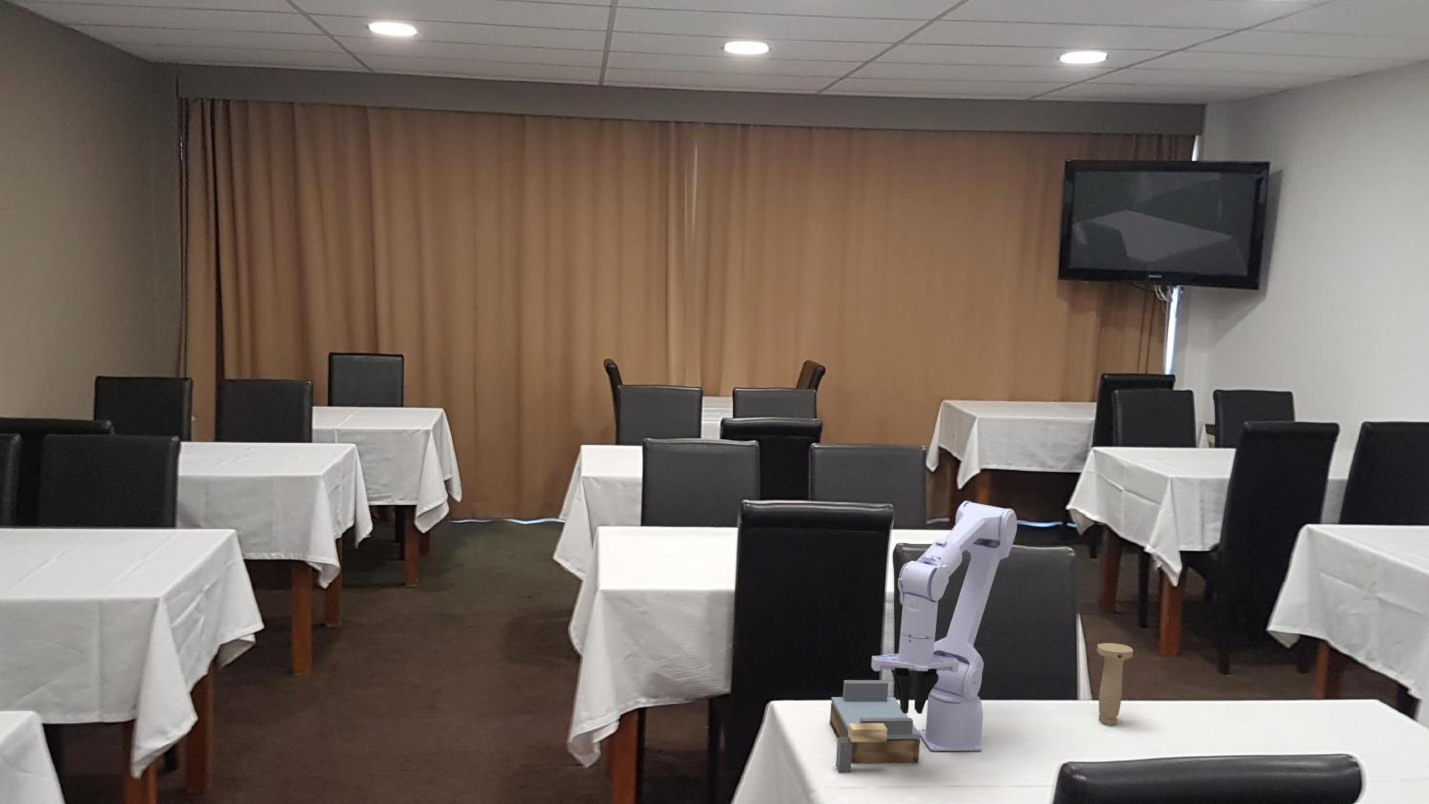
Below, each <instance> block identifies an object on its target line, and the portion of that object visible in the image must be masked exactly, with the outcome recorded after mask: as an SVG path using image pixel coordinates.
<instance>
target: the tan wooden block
mask: <svg viewBox="0 0 1429 804" xmlns="http://www.w3.org/2000/svg"><path fill="white" fill-rule="evenodd" d="M848 736H849V738H850V740H851V742H886V740H887V728H886V727H885V725H884V723H849V731H848Z"/></svg>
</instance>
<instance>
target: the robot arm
mask: <svg viewBox="0 0 1429 804" xmlns="http://www.w3.org/2000/svg"><path fill="white" fill-rule="evenodd" d="M1017 530H1018V520H1017V514H1016V513H1015V511H1014V509H1012V508H1002V507H998V506H993V505H986V504H982V503H976V502H973V501H970V500H964V501H963V502H962V503H961V504H960V505H959V507H958V508H957V511H956V513H955V525H954V526H953V528H952V529H951V530H950V532H949V533H948V535H947V536H946V538H938V539H936V540H935V541H933V543H932V544H931V545H930V546H929V547H928V549H926V551H924V552H923V554H922V555H920V557H919V558H918V559H917V560H916V561H915V560H910V561H908V562H906V563H904V564H903V566H902V567H901V569H900V572H899V577H898V579H897V586H898V587H897V588H898V590H899V603H900V604H901V605H902V611H901V621H900V622H901V624H900V632H899V633H900V635H899V646H898V647H899V648H898V653H891V654H885V655H872V656H871V666H870V667H871V668H872V670H873V671H874V672H880V671H881V670H882V671H885V670H886V671H890V672H891V674H892V677H893V678H894V682H895V685H896V688H897V692H898V698H899V704H900V709H901V711H902V712H903V713H904V714H906V715H908V714H909V709H910V708H909V706H910V693H911V688H912V685H913V678H912V676H911V672H910V671H915V677H916V678H915V680H916V681H915V683H916V684H915V695H914V696H915V697H914V704H913V705H914V706H913V707H914V710H915V711H916V713H917V714H919V715H921V714H923V710H924V707H925V704H926V702H927V707H926V708H927V709H926V720H925V721H926V722H925V728H924V729H922V728H921V729H917V730H918V732H919V733H920V738H921V739H922V740H923V742H924V743H925V745H926V746H927V748H928V749H929V750H930V751H931V752H933V751H934V752H944V751H945V752H954V751H955V752H959V751H960V752H961V751H963V752H967V751H968V752H969V751H975V752H977V751H982V749H983V748H982V746H981V742H982V730H983V719H984V716H983V715H984V710H983V704H982V700H981V698H980V697H979V695H978V693H979V692H980V689H981V686H982V681H983V680H982V678H983V670H984V665H985V664H984V663H985V662H984V661H983V658H982V656H981V654H979V652H978V650H977V649H976V648H975V647H974V644H975V641H976V637H977V634H978V631H979V629H980V625H981V621H982V618H983V615H984V611H985V609H986V605H987V602H988V599H989V596H990V591H991V588H992V585H993V582H994V578H995V575H996V573H997V569H998V567H999V564H1000V561H1001V560H1002V559H1006V558H1008V557H1009V555H1010V551H1012V547H1013V544H1014V541H1015V538H1016V534H1017ZM965 551H967V552H968V553H969V554H970V561H969V564H968V566H967V567H968V568H967V570H966V573H965V577H964V580H963V582H962V583H963V584H962V587H961V589H960V592H959V596H958V598H957V603H956V605H955V609H954V611H953V615H952V619H951V621H950V624H949V627H948V631H947V634H946V636H945V637H943V638H941V639H939V640H937V641H936V640H935V639H936V629H937V628H936V627H937V620H938V619H937V616H938V605H939V601H940V599H942V598H943V596H944V593H945V591H946V588H947V585H948V584H949V581H950V579H949V578H950V576H951V575H952V574H953V573H954V572H955V571H956V570H957V568H959V566H960V565H961V564H962V562H963V553H964V552H965Z"/></svg>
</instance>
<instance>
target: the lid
mask: <svg viewBox="0 0 1429 804" xmlns="http://www.w3.org/2000/svg"><path fill="white" fill-rule="evenodd" d="M888 692H889V683H888V681H887V680H886V679H885V680H883V679H882V680H880V679H878V680H877V679H875V680H874V679H862V680H860V679H856V680H855V679H846V680H845V679H844V680H843V689H842V696H832V697H831V698H830V699H831V700H830V702H831V703H832V704H833V705H834V707H835V709H836V711H837V713H838V715H839V716H840V718H841V720H842V722H843V724H844V726H845V727H846V729H847V731H849V723H884V725H885V727H886V728H887V739H919V740H920V739H921V736H920V733H919V732H918V730H919V729H917V727H916V726H915V725H914V720H913V718H912V717H909V716H908V714H904V713H903V712H902V711H901V709H900V702H898V701H897V698H896V697H894V696H890V697H889V696H888Z"/></svg>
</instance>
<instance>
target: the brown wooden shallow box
mask: <svg viewBox="0 0 1429 804" xmlns="http://www.w3.org/2000/svg"><path fill="white" fill-rule="evenodd" d="M829 716H830V717H829V725H830V726H832V727H831V729H832V728H833V729H832V730H834V731H833V733H834V734H835V736H836V738H837V739H838V737H849V736H848V731H847V729H846V727H845V726H844V724H843V722H842V720H841V718H840V716H839V715H838V713H837V711H836V709H835V707H834V705H833V704H832V702H831V703H830V714H829ZM852 743H853V745H852V759H851V764H906V763H907V764H908V763H909V764H910V763H911V764H914V763H915V764H916V763H917V764H919V757H920V745H921V744H920V743H921V740H920V739H887V740H886V742H852Z"/></svg>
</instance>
